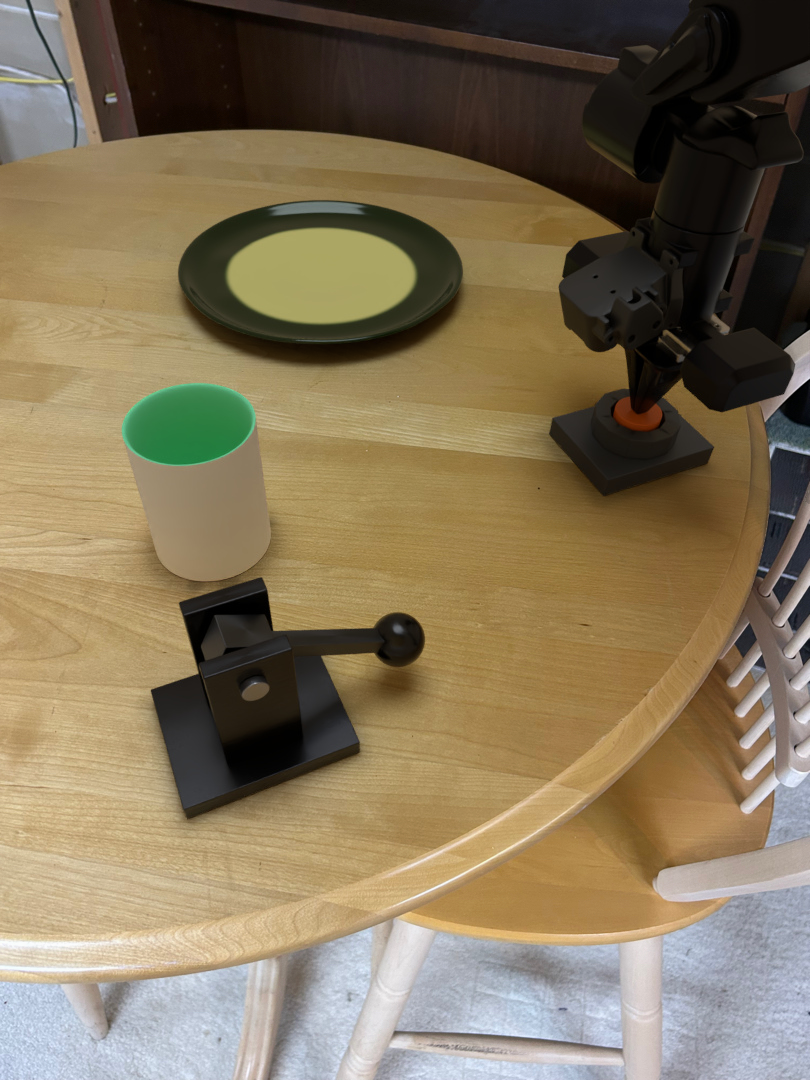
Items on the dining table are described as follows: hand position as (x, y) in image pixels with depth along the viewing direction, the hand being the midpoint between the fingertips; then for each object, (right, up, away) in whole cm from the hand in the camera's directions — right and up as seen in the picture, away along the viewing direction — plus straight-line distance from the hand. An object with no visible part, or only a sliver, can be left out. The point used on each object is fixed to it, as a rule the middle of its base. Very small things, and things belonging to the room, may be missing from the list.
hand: (639, 410), depth 62 cm
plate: (-26, +16, +19) cm, 36 cm away
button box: (0, -3, +3) cm, 4 cm away
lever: (-23, -17, -17) cm, 33 cm away
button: (0, -1, +1) cm, 2 cm away
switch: (-27, -21, -15) cm, 37 cm away
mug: (-32, -9, -4) cm, 34 cm away
